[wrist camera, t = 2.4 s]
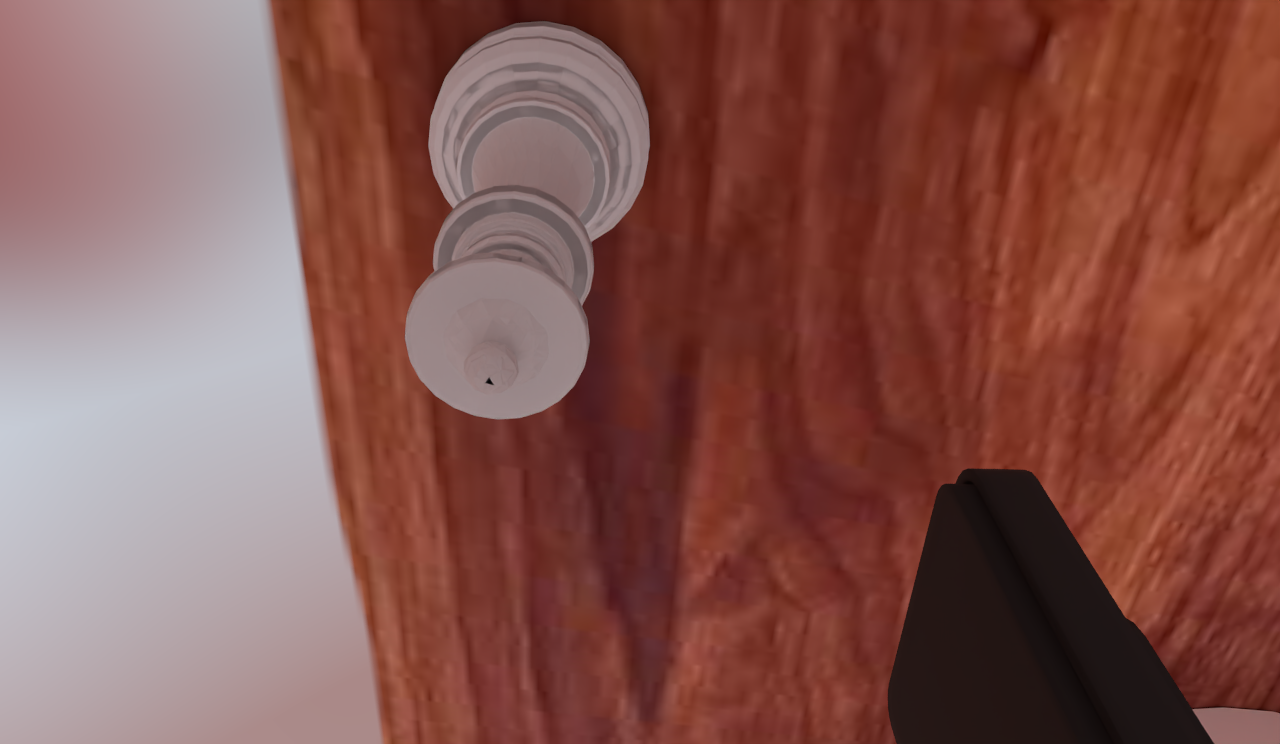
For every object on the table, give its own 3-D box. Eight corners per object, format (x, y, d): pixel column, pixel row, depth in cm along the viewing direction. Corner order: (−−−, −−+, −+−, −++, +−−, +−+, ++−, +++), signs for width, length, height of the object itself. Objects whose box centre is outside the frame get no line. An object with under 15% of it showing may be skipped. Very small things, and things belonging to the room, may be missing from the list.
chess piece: (503, -28, 18) (403, 130, 10) (691, 98, 20) (746, 335, 11) (400, 158, 20) (242, 426, 12) (578, 262, 22) (551, 571, 13)
